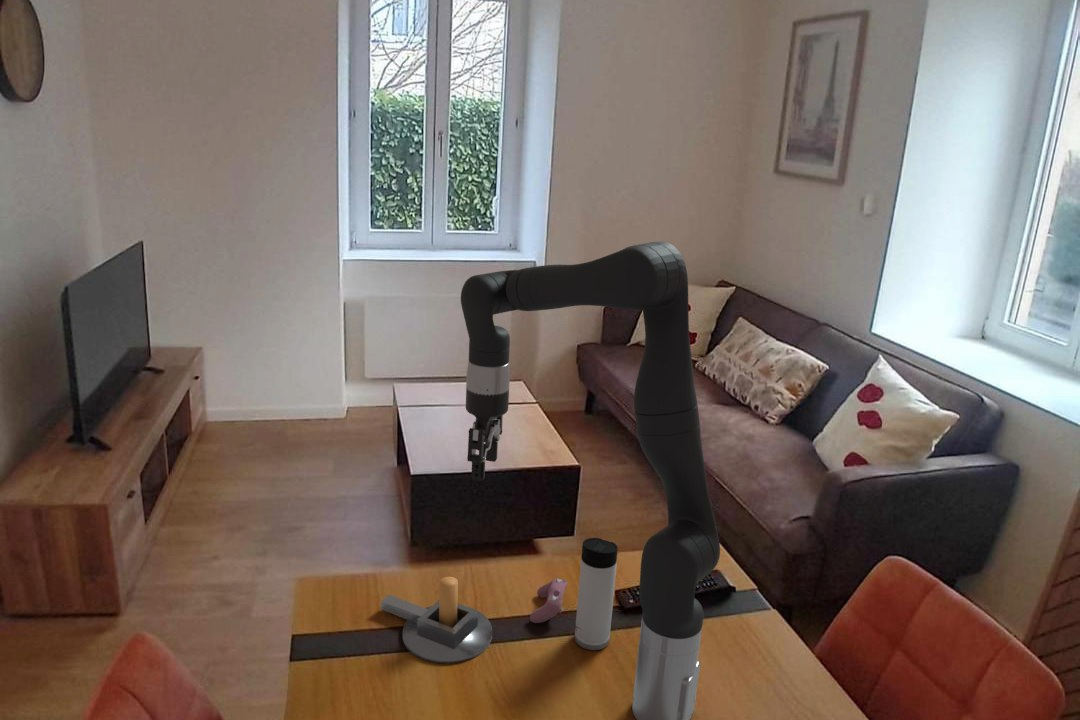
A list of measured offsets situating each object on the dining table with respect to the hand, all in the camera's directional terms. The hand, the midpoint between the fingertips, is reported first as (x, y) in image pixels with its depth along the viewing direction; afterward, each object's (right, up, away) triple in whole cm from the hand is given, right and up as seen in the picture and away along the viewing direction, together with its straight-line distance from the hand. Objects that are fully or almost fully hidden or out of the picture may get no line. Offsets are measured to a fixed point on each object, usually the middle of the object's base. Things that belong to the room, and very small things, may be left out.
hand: (484, 469), depth 149 cm
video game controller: (+12, -28, +8) cm, 31 cm away
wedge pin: (-7, -29, -1) cm, 29 cm away
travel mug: (+19, -31, 0) cm, 36 cm away
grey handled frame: (-9, -29, 0) cm, 30 cm away
